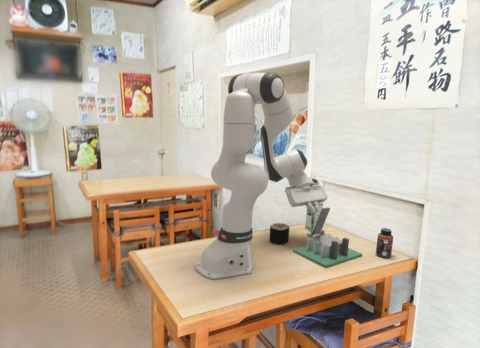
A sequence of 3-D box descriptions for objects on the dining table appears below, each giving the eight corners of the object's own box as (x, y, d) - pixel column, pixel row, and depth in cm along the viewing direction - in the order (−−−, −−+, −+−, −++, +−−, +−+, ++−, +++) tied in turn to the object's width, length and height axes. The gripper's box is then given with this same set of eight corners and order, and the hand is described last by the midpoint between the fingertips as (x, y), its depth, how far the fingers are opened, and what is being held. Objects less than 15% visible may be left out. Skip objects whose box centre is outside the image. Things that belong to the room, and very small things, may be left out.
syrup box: (304, 228, 174) (306, 200, 171) (314, 227, 176) (316, 199, 174) (311, 231, 168) (313, 203, 166) (321, 230, 171) (323, 202, 168)
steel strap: (323, 209, 140) (321, 208, 140) (313, 235, 145) (311, 233, 146) (330, 208, 142) (328, 207, 142) (320, 233, 147) (318, 232, 148)
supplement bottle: (388, 259, 138) (391, 233, 136) (373, 255, 142) (376, 229, 140) (393, 255, 143) (396, 229, 141) (378, 251, 147) (381, 226, 145)
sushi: (291, 241, 155) (292, 224, 154) (281, 246, 149) (282, 228, 147) (276, 236, 160) (277, 220, 159) (266, 241, 154) (266, 224, 153)
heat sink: (325, 259, 134) (326, 244, 133) (302, 248, 144) (303, 234, 143) (348, 252, 142) (349, 237, 141) (324, 242, 152) (326, 228, 151)
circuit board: (325, 268, 129) (325, 265, 129) (292, 251, 143) (293, 249, 143) (362, 256, 141) (362, 253, 141) (328, 242, 156) (328, 239, 155)
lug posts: (334, 259, 134) (335, 242, 133) (330, 257, 136) (331, 241, 134) (347, 255, 139) (349, 239, 137) (343, 253, 140) (345, 237, 139)
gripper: (287, 183, 144) (302, 211, 138) (320, 179, 156) (336, 205, 149) (279, 191, 149) (293, 219, 142) (313, 187, 160) (327, 212, 154)
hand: (315, 212), depth 146 cm, fingers closed
